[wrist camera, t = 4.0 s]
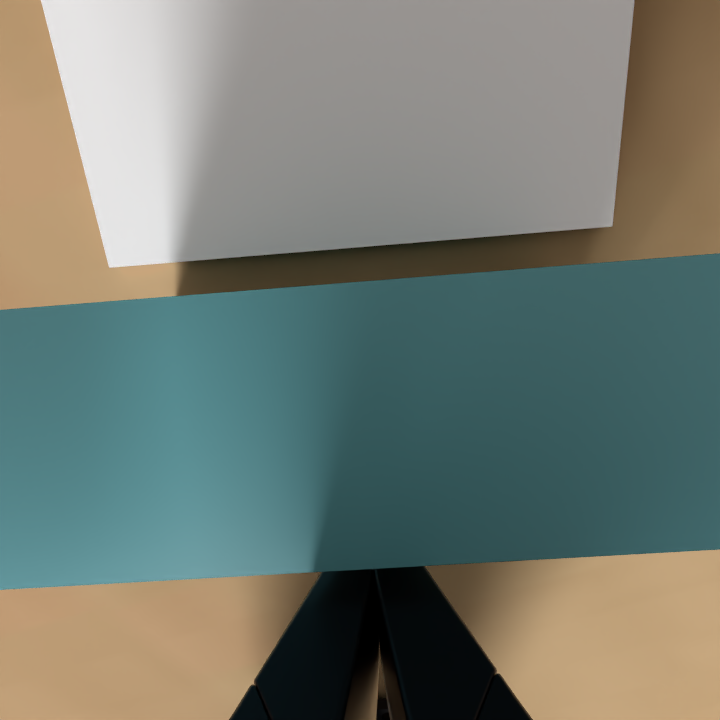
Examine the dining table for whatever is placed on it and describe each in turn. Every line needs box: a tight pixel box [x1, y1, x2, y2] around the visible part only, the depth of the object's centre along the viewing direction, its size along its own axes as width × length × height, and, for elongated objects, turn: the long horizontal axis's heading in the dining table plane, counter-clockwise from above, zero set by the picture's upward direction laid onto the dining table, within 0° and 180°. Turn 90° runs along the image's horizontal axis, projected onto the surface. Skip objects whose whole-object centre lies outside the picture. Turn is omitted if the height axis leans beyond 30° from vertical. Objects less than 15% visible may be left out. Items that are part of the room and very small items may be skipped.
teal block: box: [0, 253, 720, 590], centre depth 10 cm, size 4×12×8 cm, turn 95°
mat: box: [41, 0, 635, 268], centre depth 11 cm, size 10×15×1 cm, turn 95°
